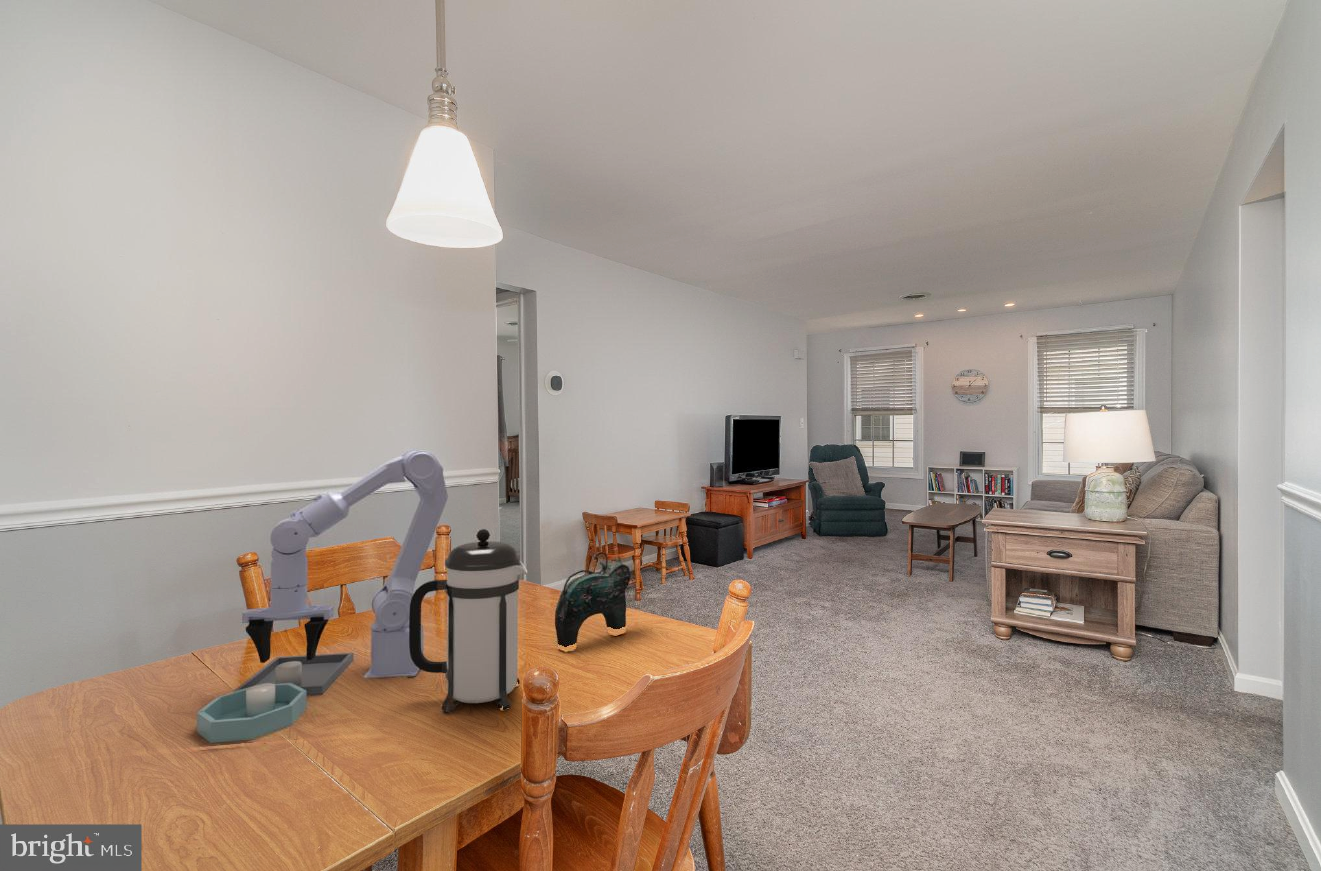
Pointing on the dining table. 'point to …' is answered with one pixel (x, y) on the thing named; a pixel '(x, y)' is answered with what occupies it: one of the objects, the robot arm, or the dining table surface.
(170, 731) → the dining table surface
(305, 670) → the parts tray
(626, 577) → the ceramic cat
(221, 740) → the bowl
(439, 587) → the coffee press
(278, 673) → the pebble
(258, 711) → the pebble
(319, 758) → the dining table surface
